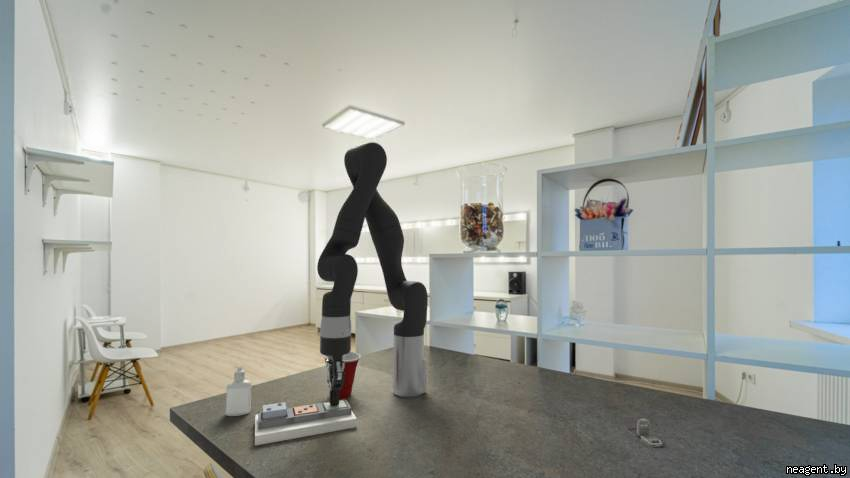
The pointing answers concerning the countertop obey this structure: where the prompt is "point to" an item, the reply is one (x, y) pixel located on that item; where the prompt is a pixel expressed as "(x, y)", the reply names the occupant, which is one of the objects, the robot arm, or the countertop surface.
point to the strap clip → (645, 434)
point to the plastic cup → (348, 373)
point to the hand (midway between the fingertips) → (334, 404)
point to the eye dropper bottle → (238, 395)
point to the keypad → (302, 424)
